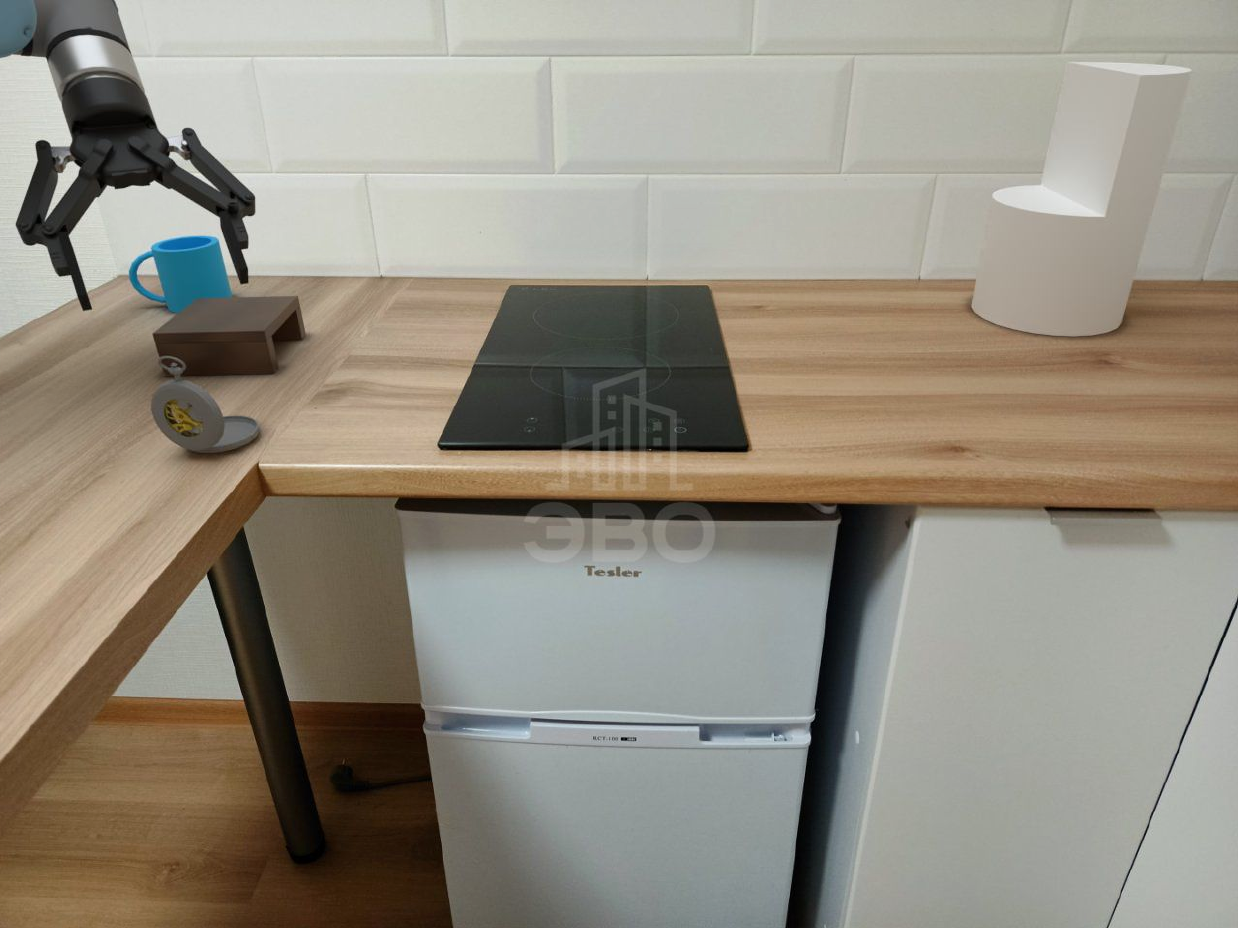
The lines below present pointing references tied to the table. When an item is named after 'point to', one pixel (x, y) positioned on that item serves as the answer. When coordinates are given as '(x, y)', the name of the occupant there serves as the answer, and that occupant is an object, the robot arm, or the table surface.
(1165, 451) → the table surface
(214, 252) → the mug
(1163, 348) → the table surface
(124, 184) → the robot arm
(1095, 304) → the white stepped block
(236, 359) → the stand
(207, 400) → the pocket watch
